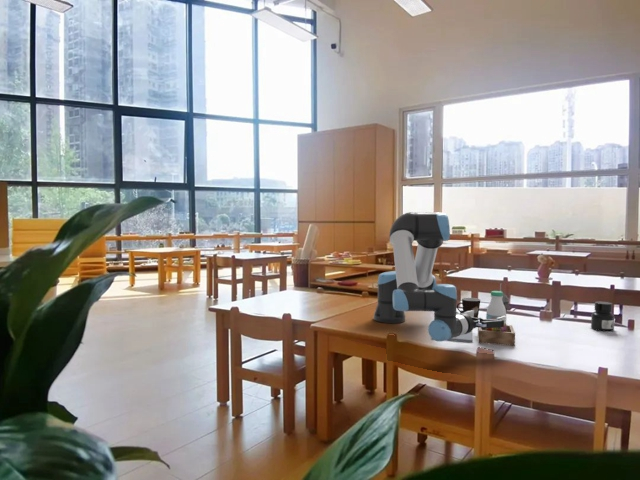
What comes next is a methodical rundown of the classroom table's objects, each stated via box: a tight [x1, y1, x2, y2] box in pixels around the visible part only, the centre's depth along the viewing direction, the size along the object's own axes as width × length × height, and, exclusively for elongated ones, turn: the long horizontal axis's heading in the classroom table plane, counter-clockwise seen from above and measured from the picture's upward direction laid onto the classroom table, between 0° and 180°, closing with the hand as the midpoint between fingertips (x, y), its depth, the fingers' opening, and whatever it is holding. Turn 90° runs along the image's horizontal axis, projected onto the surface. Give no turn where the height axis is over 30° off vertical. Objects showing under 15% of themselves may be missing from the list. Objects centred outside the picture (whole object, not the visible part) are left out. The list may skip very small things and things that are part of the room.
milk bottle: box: [485, 290, 507, 332], centre depth 192 cm, size 8×8×20 cm
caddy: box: [477, 324, 516, 347], centre depth 192 cm, size 13×13×5 cm
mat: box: [448, 330, 474, 343], centre depth 198 cm, size 16×16×1 cm
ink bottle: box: [590, 301, 615, 332], centre depth 211 cm, size 10×9×12 cm
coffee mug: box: [456, 297, 481, 318], centre depth 228 cm, size 12×9×10 cm
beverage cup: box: [499, 283, 509, 315], centre depth 214 cm, size 7×7×20 cm
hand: (488, 316), depth 187 cm, fingers open, 13 cm apart
